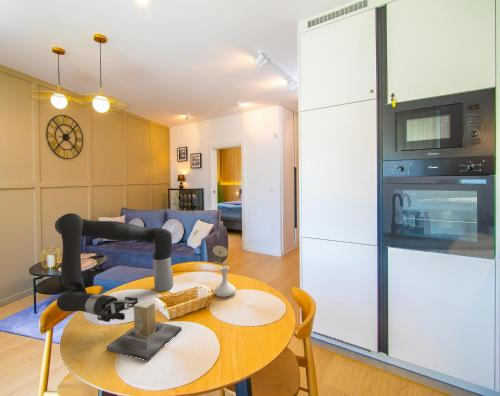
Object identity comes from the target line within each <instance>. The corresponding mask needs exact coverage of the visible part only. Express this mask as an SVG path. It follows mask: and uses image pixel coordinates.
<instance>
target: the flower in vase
mask: <svg viewBox="0 0 500 396" xmlns="http://www.w3.org/2000/svg"><path fill="white" fill-rule="evenodd" d="M212 252H213V254H214V255H215V256H217V257H218V260H214V261H213V262H212V264H216V265H220V267H219V270H220V271H221V274H222V275H221V276H222V280H221V282H220V283H219V285H217V286H216V287H215V288H214V291H213V292H214V293H213V294H215V295H216V296H217V297H223V298H224V297H230V296H234V294H236V292H237V289H236V286H234V285H233V284H231V283H230V282H229V281H228V271H229V269H230V267H229V266H228V265H227V264H229V260H228V261H225V262H223V264H222V262H221V258H223V257H228V253H229V251H228V248H226V247H225V246H223V245H216V246H214V247H213V249H212Z"/></svg>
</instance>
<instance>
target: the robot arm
mask: <svg viewBox="0 0 500 396" xmlns="http://www.w3.org/2000/svg"><path fill="white" fill-rule="evenodd" d="M54 229H55V230H56V232H57V233H58V234H60V236H61V240H62V255H61V263H60V264H61V265H60V274H61V285H62V286H64V287H71V288H72V290H71V291H67V292H64V293H62V294H60V295H59V296H58V297H57V299H56V306H57V309H59V310H61V311H63V312H71V313H72V312H84V313H89V314H91V315H95V316H97V320H99V321H102V322H106V323H109V322H111V320H112V321H113V320H117V321H118V320H119V321H120V320H121V321H124V320H125V319H126V315H125V313H124V312H122V311H125V310H126V311H127V310H129V309H131V308H133V309H134V305H135V304H137V303H138V302H139V301H138V297H133V296H125V297H124V299H123V300H121V299H120V300H119V299H117V297H115V296H113V295H106V294H102V293H99V294H98V293H91V292H90V293H89V292H88V291H87V289H86V287H85V283H84V281H83V277H82V274H83V273H82V257H81V245H82V243H81V242H82V237H91V238H92V237H93V238H97V239H102V240H108V241H114V242H115V241H116V242H137V241H139V242H146V243H151V244H153V245H154V252H153V253H152V262H153V263H152V264H153V267H152V268H153V284H154V291H155V292H158V293H160V292H161V293H162V292H166V291H170V290H171V289H172V288H173V287H174V274H173V269H172V255H171V254H172V252H173V238H172V237H173V236H172V233H171V232H170V231H169V230H168V229H166V228H162V227H145V226H139V225H136V224H133V223H129V222H122V221H118V220H117V221H116V220H115V221H113V220H90V219H86V218H82V217H81V216H80V215H79V214H76V213H74V212H73V213H65V214H64V215H62V216H60V217H58V219H56V220H55V222H54Z"/></svg>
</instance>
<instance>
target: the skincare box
mask: <svg viewBox="0 0 500 396" xmlns="http://www.w3.org/2000/svg"><path fill="white" fill-rule="evenodd" d="M155 322H156V304H155V302H153V301H152V302H151V301H146V300H143V299H142V300H140V301H138V303H137V304H135V305H134V307H133V324H134V326H133V327H134V331H135V337H136V338H140V339H144V340H148V339H149V338H150V337H151V336H153V335H154V334H155Z"/></svg>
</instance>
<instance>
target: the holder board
mask: <svg viewBox="0 0 500 396" xmlns="http://www.w3.org/2000/svg"><path fill="white" fill-rule="evenodd" d="M182 328H183V327H182V326H179V325H174V324H168V323H163V322H158V321H155V334H154V335H153V336H151V337H150V338H149V339H148V340H144V339H140V338H136V337H135V331H134V326H133V327H132V328H131V329H128V330H127V331H126V332H125V333H123V334H122V335H120V336H119V337H118V338H116V339H115V340H113V341H112V342H110V343H109V344H107V345H106V351H110V352H113V353H115V354H116V353H117V354H120V355H124V356H127V355H128V356H127V357H130V356H132V357H131V358H134V357H137V358H141V359H144V360H143V361H145V360H147V361H146V362H150V361H151V360H152V358H151V357H153V356H154V355H155V354H156V353H157V352H158V351H159V350H160V349H161V348H162V347H163V346H164V345H165V344H166V343H168V342H169V341H170V340H171V339H172V338H173V337H174V338H175V337H176V336H177V334H178V333H179V332H180V331H181V332H182ZM181 332H180V333H181ZM180 333H179V334H180ZM179 334H178V335H179ZM174 338H173V339H174ZM173 339H172V340H173ZM172 340H171V341H172ZM171 341H170V342H171ZM170 342H169V343H170ZM169 343H168V344H169ZM164 347H165V346H164ZM164 347H163V348H164ZM163 348H162V349H163ZM162 349H161V350H162ZM161 350H160V351H161ZM160 351H159V352H160ZM159 352H158V353H159ZM158 353H157V354H158ZM157 354H156V355H157ZM156 355H155V356H156ZM155 356H154V357H155ZM137 358H136V359H137ZM141 359H140V360H141Z"/></svg>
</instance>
